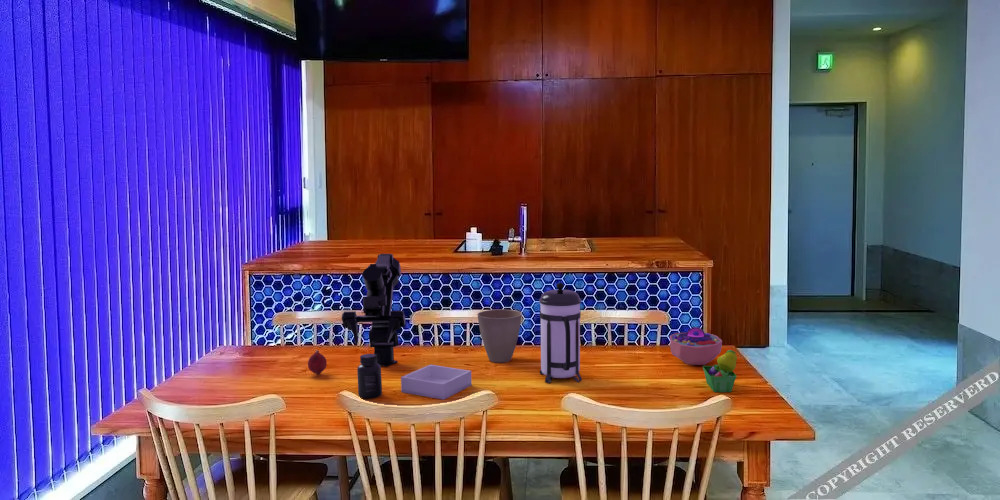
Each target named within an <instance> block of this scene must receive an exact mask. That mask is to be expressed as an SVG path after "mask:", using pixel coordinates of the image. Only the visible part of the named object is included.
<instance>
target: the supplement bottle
mask: <svg viewBox="0 0 1000 500" xmlns="http://www.w3.org/2000/svg"><path fill="white" fill-rule="evenodd" d="M359 358H360V361H359V363H360V364H359V365H358V366H357V372H356V373H357V374H356V375H357V389H358V392H357V393H358V397H359V396H360V397H362V398H361V399H365V400H373V399H376V398H379V397H382V395H383V385H382V384H383V383H382V366H380V365H379V364H378V363H377V355H376V354H374V353H366V354H365V353H364V354H361V355H360V357H359ZM360 397H359V398H360Z"/></svg>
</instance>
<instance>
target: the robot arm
mask: <svg viewBox="0 0 1000 500" xmlns="http://www.w3.org/2000/svg"><path fill="white" fill-rule="evenodd" d="M401 276H402V269H401V263H400V260H398V259H396V258H394V255H393V254H391V253H380V254H377V260H376V261H375V263H369V265H368V266H367V267H366V268H365V269H364V270H363V271H362V279H363V283H364V286H365V288H366V291H367V292H366V296H363V300H362V301H363V302H362V308H363V310H362V311H363V314H364V315H357V312H356V310H354V311H343V313H341V322H342V324H343V327H344V328H345V329H347V330H348V331H351V332H352V335H353V339H354V342H355V345H358V342H359V327H358V324H359V323H371V327H370V329H369V331H368V332H369V333H368V335H369V337H368V338H369V344H370V345H369V347H370V348H373V349H374V351H373V354H376V355H377V363H378V364H379V365H380V366H381V367H384V368H385V367H386V368H387V367H389V366H392V365H394V364H396V363H398V360H397V359H396V360H395V356H394V355H395V353H394V352H395V351H394V348H396V347H397V346H399V334H398V332H397V331H398V330H401V328H404V327H406V316H405V312H404V311H403V310H392V306H393V294H394V288H395V287H396V286H397V285H398V284H399V278H400V277H401Z"/></svg>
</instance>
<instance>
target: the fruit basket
mask: <svg viewBox="0 0 1000 500" xmlns="http://www.w3.org/2000/svg"><path fill="white" fill-rule="evenodd" d="M737 360H738V356H737V352H736V351H734V350H732V349H728V350H727V351H726V352H725V353H723V354H722V355H720V356H718V357H717V359H716V362H717V364H713V365H702V369H703V372H704V377H705V381H706V384H707V385H708V387H709V388H710V389H711V391H713V393H731V392H733V387H734V386H735V385H734V384H735V382H736V379H737V374H736V373H735V372H734V371H735V369H736V366H737Z"/></svg>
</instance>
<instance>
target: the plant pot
mask: <svg viewBox="0 0 1000 500" xmlns="http://www.w3.org/2000/svg"><path fill="white" fill-rule="evenodd" d="M522 315H523V313H522V312H521V311H518V310H513V309H488V310H483V311H482V310H481V311H480V312H477V321H478V326H479V332H480V335H481V341H482V343H483V347H484V349H485V353H486V355H487V357H488V360H489V361H490V362H491V363H492V362H493V363H508V362H510V361H511V360H512V357H513V355H514V353H515V349H516V346H517V342H518V338H519V335H520V330H521V322H522Z"/></svg>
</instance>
